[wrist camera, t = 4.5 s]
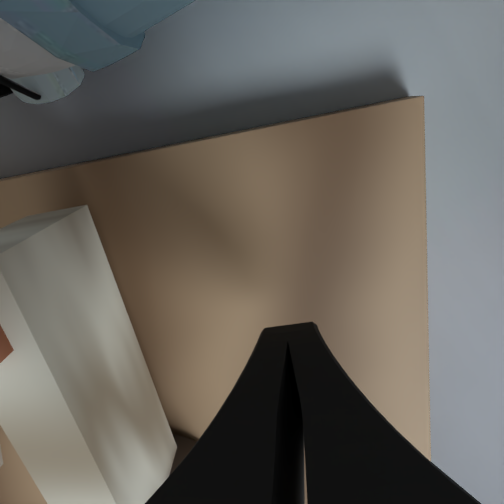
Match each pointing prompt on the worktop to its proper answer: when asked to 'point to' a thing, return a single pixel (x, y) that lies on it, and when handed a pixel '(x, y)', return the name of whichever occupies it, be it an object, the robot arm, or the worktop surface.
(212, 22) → the worktop surface
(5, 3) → the toy
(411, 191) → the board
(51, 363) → the peg
